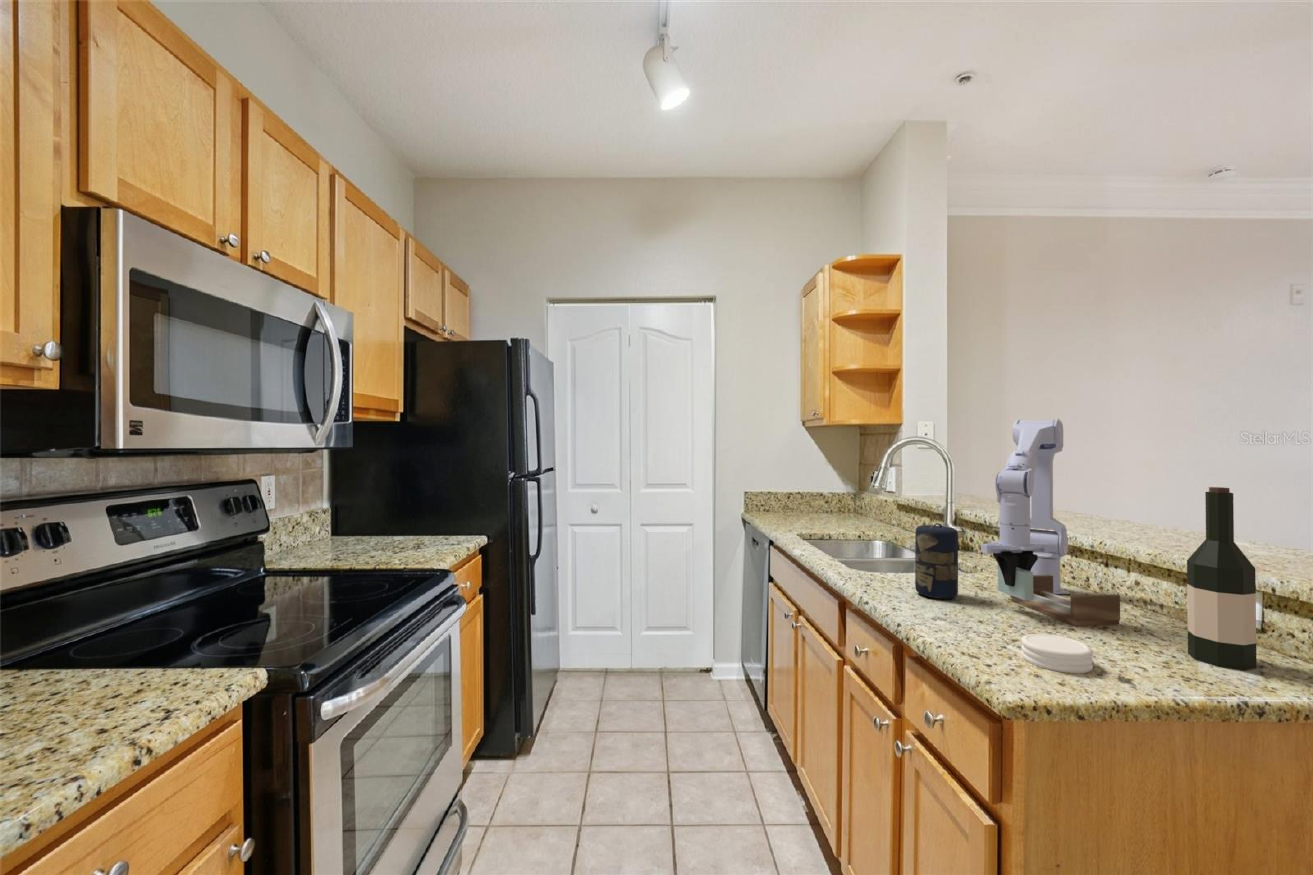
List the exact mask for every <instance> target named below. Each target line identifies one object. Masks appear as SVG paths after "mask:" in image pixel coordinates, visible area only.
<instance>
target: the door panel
mask: <svg viewBox="0 0 1313 875" xmlns="http://www.w3.org/2000/svg"><path fill="white" fill-rule="evenodd" d="M997 587H998V588H997V590H998V591H999V592H1001V593H1004V594H1007V595H1012V596H1014V597H1017V598H1020V599H1022V600H1033V572H1031V571H1027V570H1024V569H1021V568H1017V567H1016V573H1015V586H1014V587H1011V586H1008V585H1005V582H1004V578H1003V575H1002V572H1001V569H1000V567H999V565H998V564H997Z"/></svg>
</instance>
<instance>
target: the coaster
mask: <svg viewBox="0 0 1313 875" xmlns="http://www.w3.org/2000/svg"><path fill="white" fill-rule="evenodd" d="M1020 642H1021V646H1020V648H1021V657H1022V658H1023V659H1024V660H1025V661H1026V662H1028V663H1029V664H1031V665H1034V666H1036V667H1039V668H1041V669H1042V668H1043V669H1046V670H1048V671H1049V670H1050V671H1053V672H1060V673H1067V674H1086V673H1090V672H1091V671H1092V670H1093V668H1094V666H1093V662H1094V660H1093V655H1094V652H1093V650H1092V648H1091V647H1090V646H1089V645H1087V644H1085V643H1084V642H1081V641H1078V640H1076V639H1072V638H1068V637H1065V636H1061V635H1060V636H1059V635H1053V634H1047V633H1030V634H1029V633H1028V634H1025V635H1024V636H1022V637H1021V639H1020Z"/></svg>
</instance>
